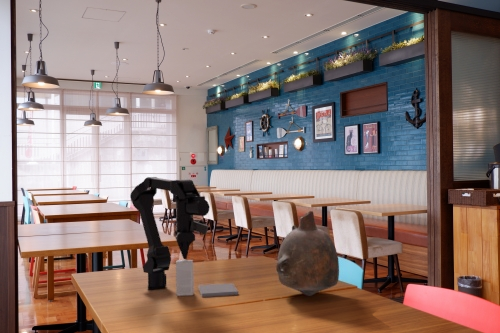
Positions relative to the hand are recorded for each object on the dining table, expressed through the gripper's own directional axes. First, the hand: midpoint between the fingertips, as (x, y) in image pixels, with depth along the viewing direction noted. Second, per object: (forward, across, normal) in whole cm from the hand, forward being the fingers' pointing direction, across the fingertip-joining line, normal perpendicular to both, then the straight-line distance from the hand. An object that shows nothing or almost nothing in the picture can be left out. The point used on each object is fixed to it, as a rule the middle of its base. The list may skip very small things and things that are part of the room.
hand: (184, 257), depth 177 cm
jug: (+13, -13, -42) cm, 46 cm away
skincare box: (+13, 0, 0) cm, 13 cm away
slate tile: (+13, +1, -12) cm, 18 cm away
